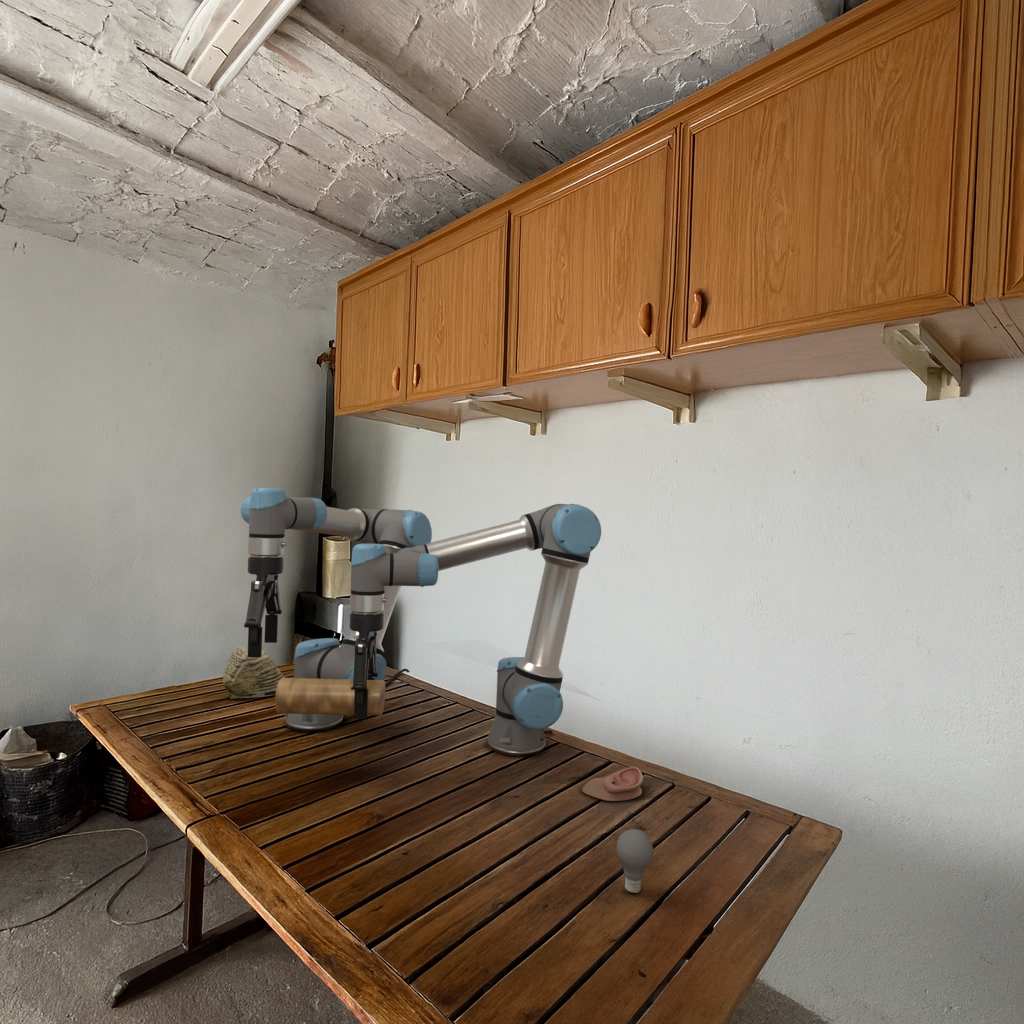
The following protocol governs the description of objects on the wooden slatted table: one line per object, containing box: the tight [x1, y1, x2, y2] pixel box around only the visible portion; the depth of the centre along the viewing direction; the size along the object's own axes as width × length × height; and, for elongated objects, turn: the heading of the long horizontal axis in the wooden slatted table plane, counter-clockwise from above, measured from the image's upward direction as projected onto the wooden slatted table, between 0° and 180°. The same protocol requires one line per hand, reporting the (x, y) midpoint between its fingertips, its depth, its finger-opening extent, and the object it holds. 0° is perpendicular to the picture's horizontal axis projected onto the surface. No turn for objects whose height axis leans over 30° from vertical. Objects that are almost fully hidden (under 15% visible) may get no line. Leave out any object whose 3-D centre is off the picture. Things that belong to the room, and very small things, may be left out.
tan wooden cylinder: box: [274, 677, 386, 716], centre depth 144 cm, size 23×8×8 cm, turn 92°
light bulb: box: [615, 828, 654, 894], centre depth 106 cm, size 6×6×10 cm
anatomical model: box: [581, 766, 644, 802], centre depth 142 cm, size 13×4×12 cm
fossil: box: [222, 646, 286, 699], centre depth 198 cm, size 9×18×15 cm, turn 132°
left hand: (263, 649), depth 144 cm, fingers open, 13 cm apart
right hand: (364, 711), depth 144 cm, fingers closed on tan wooden cylinder, 8 cm apart
